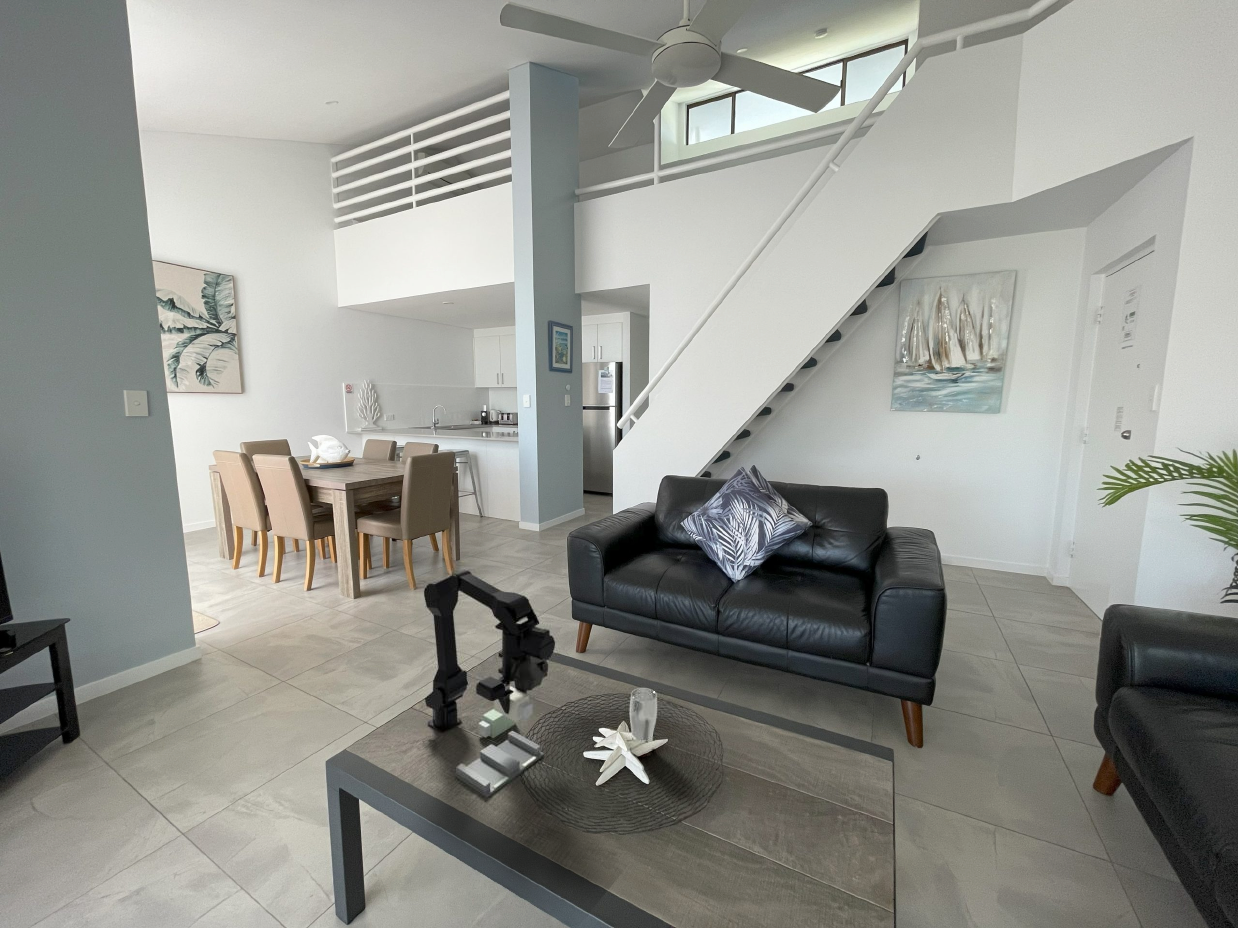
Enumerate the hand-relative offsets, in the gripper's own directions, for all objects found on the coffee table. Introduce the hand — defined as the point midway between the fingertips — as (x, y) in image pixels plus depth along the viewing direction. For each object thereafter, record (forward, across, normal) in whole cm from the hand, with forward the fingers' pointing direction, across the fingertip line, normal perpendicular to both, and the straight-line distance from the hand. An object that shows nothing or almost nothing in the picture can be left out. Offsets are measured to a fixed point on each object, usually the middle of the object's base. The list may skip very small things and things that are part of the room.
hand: (513, 709), depth 128 cm
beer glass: (+12, +22, -24) cm, 35 cm away
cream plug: (+1, 0, 0) cm, 1 cm away
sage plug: (+12, +4, +11) cm, 17 cm away
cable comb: (+12, -4, 0) cm, 13 cm away
